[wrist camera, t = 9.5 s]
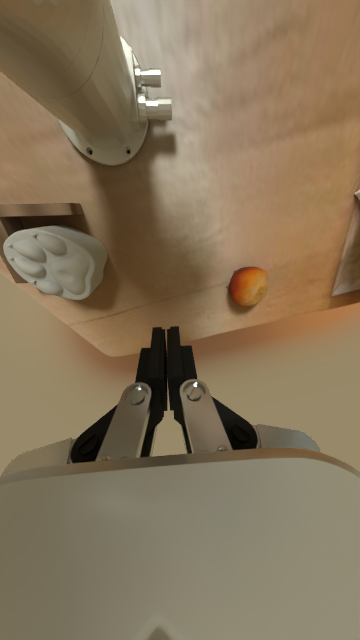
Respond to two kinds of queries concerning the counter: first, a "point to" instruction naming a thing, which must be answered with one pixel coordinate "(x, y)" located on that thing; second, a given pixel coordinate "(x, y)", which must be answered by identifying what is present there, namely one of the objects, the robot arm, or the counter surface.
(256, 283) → the fruit
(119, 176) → the counter surface
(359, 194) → the skyscraper
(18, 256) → the lumpy-topped squat cylinder
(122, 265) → the counter surface
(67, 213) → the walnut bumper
